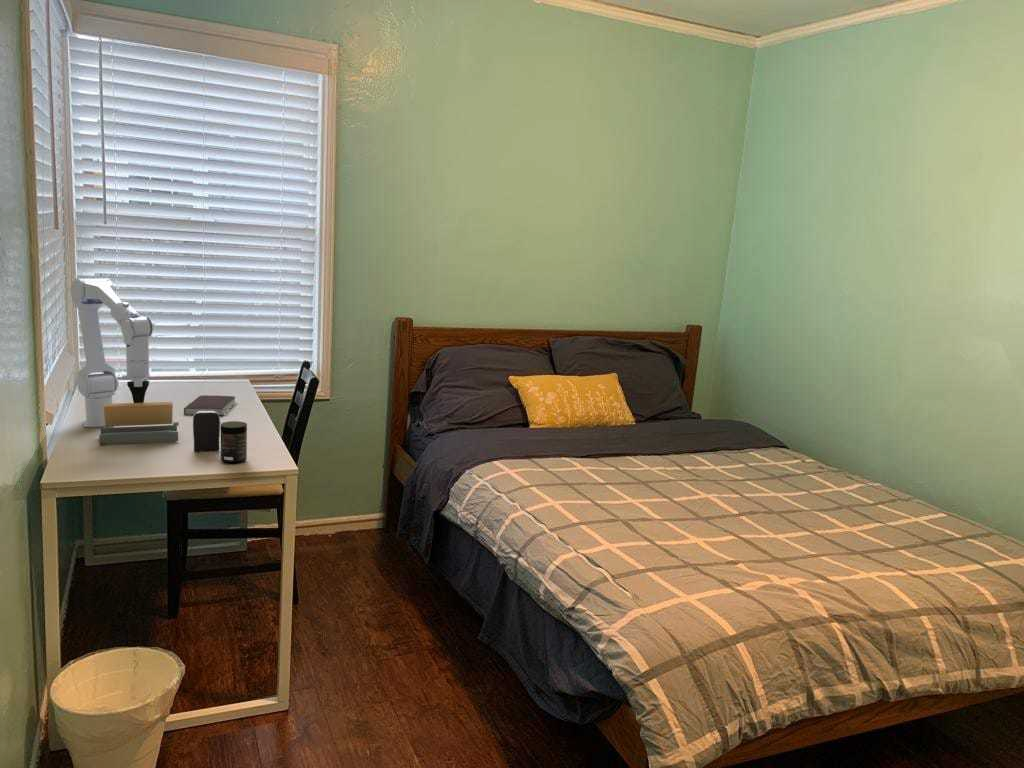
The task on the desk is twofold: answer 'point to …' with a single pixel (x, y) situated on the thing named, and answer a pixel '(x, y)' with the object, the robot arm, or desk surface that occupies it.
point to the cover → (138, 414)
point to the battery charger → (206, 431)
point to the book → (210, 404)
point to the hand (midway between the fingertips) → (138, 406)
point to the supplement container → (233, 442)
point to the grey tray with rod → (138, 434)
